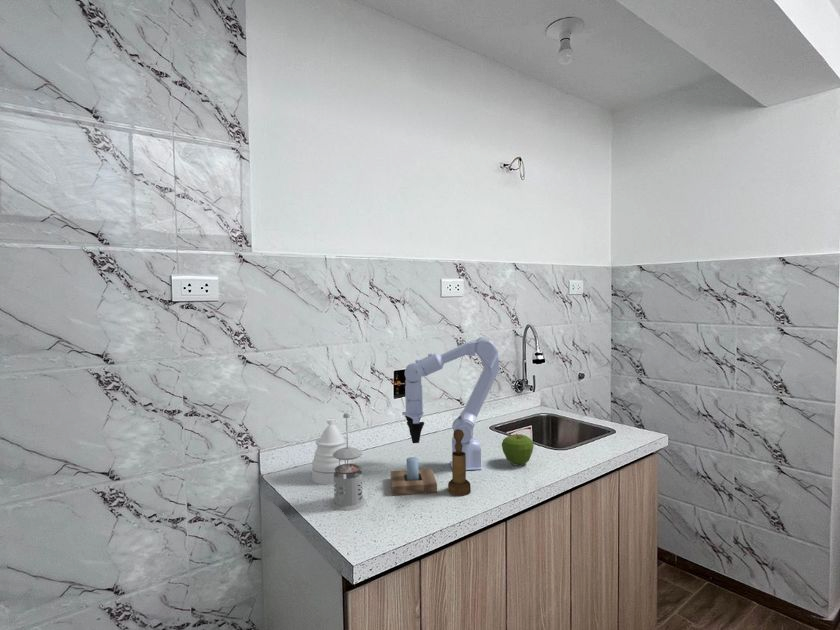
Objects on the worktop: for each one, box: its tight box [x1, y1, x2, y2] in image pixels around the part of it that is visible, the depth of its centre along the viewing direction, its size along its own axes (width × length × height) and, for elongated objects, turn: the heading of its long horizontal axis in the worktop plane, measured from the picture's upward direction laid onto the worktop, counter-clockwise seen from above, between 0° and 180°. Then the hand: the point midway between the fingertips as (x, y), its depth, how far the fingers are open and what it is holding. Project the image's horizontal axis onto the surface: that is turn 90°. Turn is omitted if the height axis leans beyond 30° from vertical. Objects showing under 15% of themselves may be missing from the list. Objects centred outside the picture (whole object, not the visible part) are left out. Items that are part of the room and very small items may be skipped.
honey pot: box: [311, 418, 354, 486], centre depth 139 cm, size 13×13×18 cm
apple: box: [501, 434, 535, 466], centre depth 147 cm, size 11×10×10 cm
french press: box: [330, 412, 367, 512], centre depth 121 cm, size 10×12×25 cm
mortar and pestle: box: [447, 429, 472, 497], centre depth 126 cm, size 7×6×18 cm
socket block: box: [390, 468, 438, 496], centre depth 131 cm, size 13×12×2 cm
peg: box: [405, 456, 420, 481], centre depth 131 cm, size 4×4×8 cm
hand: (414, 439), depth 146 cm, fingers open, 7 cm apart
